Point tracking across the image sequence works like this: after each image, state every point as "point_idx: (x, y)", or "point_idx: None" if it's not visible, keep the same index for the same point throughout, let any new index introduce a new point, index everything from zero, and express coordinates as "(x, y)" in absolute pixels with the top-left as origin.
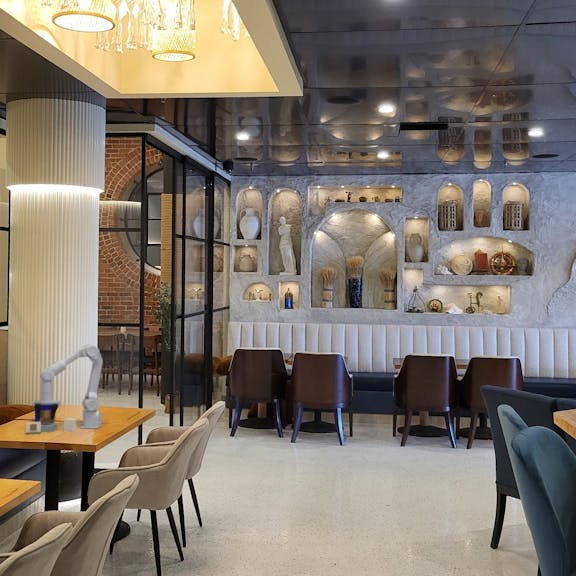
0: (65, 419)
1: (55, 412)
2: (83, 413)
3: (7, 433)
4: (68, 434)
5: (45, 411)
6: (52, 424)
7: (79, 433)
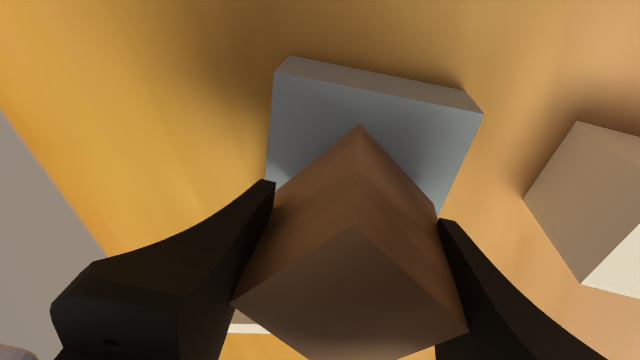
0: (603, 276)
1: (505, 288)
2: None
3: (100, 222)
4: None
5: None
6: (424, 190)
7: (631, 298)
